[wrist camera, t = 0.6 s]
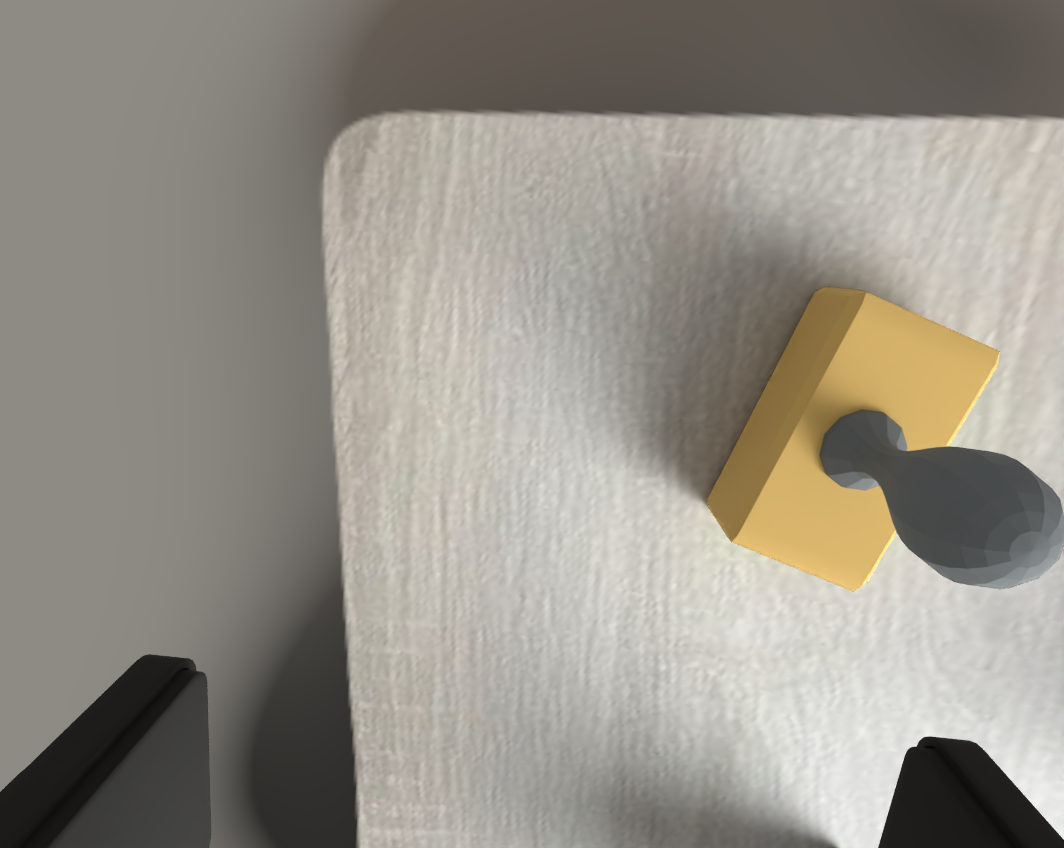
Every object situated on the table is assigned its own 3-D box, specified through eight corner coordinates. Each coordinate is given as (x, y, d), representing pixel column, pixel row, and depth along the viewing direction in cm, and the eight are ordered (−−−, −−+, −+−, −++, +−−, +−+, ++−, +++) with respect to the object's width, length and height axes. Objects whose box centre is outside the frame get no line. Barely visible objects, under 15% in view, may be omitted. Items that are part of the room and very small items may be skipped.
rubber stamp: (815, 283, 25) (1046, 300, 13) (946, 341, 25) (1281, 406, 14) (701, 504, 27) (814, 683, 16) (823, 554, 28) (1020, 764, 16)
